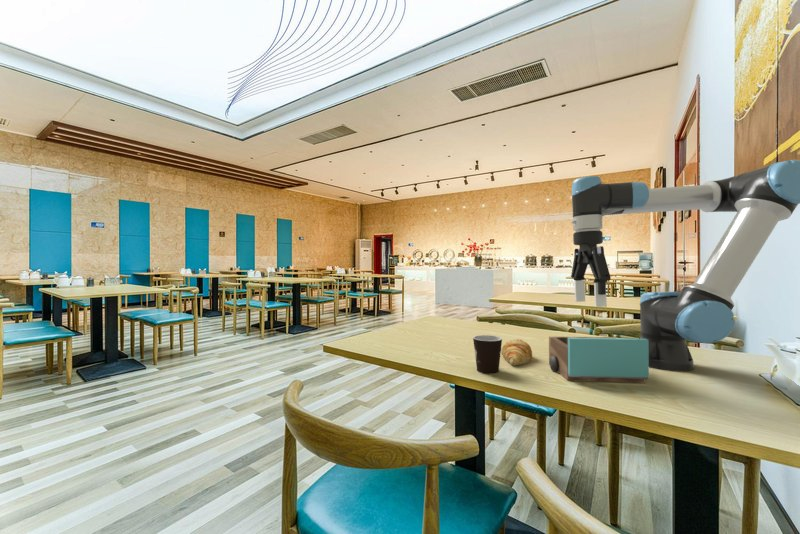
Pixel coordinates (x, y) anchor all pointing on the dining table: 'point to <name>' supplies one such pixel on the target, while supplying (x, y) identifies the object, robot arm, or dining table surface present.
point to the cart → (560, 361)
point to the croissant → (517, 352)
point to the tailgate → (608, 358)
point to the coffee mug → (487, 353)
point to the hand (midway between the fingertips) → (589, 304)
